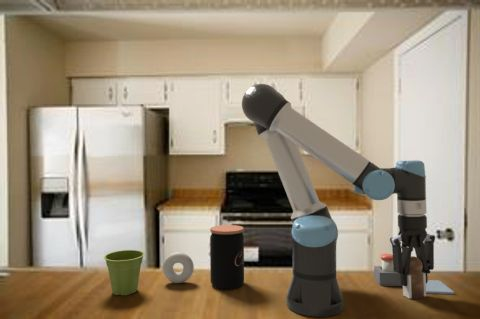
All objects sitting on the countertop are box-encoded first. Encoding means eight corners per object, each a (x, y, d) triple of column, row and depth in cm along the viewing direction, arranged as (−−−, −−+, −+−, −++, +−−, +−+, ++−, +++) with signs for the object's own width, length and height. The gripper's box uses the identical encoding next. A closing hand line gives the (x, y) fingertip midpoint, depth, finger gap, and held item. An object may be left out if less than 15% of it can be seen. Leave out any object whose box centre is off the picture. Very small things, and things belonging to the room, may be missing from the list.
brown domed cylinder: (408, 299, 103) (407, 259, 103) (402, 292, 108) (401, 254, 108) (426, 299, 103) (425, 259, 103) (419, 293, 108) (418, 254, 107)
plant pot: (95, 295, 109) (94, 257, 109) (125, 282, 119) (124, 248, 119) (124, 302, 103) (124, 262, 103) (153, 288, 114) (152, 252, 113)
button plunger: (382, 280, 116) (382, 257, 116) (379, 276, 120) (379, 253, 120) (397, 281, 115) (397, 257, 115) (393, 276, 119) (393, 254, 119)
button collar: (379, 285, 114) (379, 272, 114) (374, 278, 121) (374, 265, 121) (403, 286, 114) (403, 273, 114) (396, 278, 121) (396, 266, 121)
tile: (418, 293, 108) (418, 290, 108) (406, 281, 118) (406, 279, 118) (454, 294, 107) (454, 292, 107) (439, 282, 117) (439, 280, 117)
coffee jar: (240, 291, 110) (240, 232, 110) (206, 289, 112) (205, 230, 112) (247, 280, 121) (246, 225, 121) (215, 278, 123) (215, 224, 123)
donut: (161, 285, 116) (161, 253, 116) (163, 281, 120) (163, 251, 120) (193, 284, 117) (193, 253, 117) (194, 280, 120) (194, 250, 120)
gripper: (394, 218, 99) (396, 304, 100) (447, 214, 103) (450, 296, 104) (377, 214, 107) (380, 294, 107) (428, 210, 111) (430, 287, 111)
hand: (414, 295), depth 105 cm, fingers closed on brown domed cylinder, 4 cm apart
